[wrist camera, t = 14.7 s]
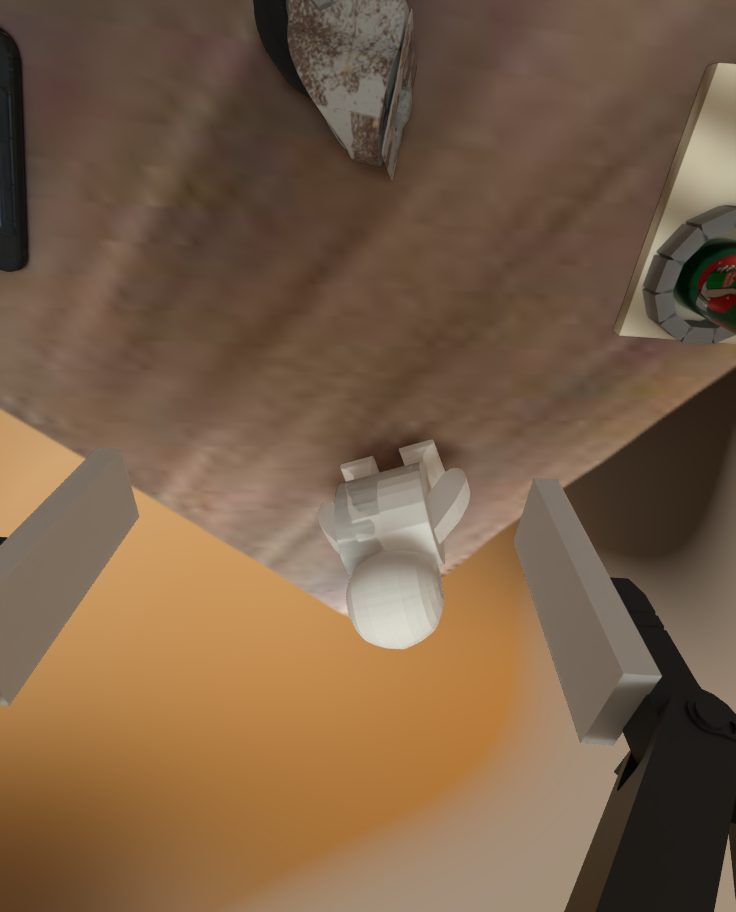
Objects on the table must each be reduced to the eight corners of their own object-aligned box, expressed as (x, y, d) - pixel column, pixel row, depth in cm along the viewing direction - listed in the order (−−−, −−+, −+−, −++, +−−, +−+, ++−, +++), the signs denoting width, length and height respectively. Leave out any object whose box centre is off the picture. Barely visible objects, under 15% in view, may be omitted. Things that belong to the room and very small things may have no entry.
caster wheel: (289, -55, 29) (445, -22, 28) (263, 151, 33) (399, 183, 32) (248, -152, 23) (448, -113, 22) (222, 117, 26) (391, 156, 26)
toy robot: (344, 517, 51) (324, 697, 34) (312, 451, 46) (270, 621, 29) (469, 486, 48) (515, 664, 31) (448, 412, 43) (489, 575, 26)
